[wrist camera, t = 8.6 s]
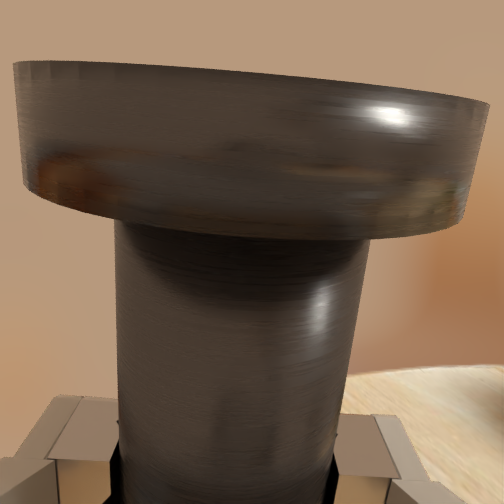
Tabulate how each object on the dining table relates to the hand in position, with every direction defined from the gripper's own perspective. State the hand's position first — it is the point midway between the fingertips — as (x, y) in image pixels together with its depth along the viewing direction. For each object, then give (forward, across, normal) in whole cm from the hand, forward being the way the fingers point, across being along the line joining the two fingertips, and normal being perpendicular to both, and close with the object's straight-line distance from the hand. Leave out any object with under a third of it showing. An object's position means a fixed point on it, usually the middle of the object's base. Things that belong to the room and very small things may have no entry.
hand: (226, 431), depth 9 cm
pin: (-1, 0, +8) cm, 8 cm away
